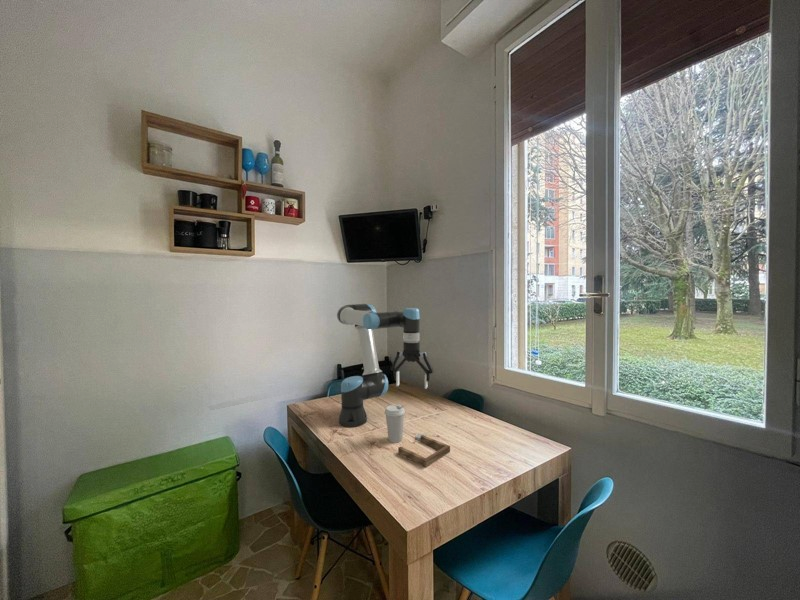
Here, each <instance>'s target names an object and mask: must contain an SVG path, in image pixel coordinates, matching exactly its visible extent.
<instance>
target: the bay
mask: <svg viewBox="0 0 800 600" xmlns="http://www.w3.org/2000/svg"><path fill="white" fill-rule="evenodd" d="M424 435H425V434H423V435H422V436H420V437H421V440H420V442H421V443H423V444H426V445H429V446H430V447H433V448H435V449H438V450H436V451H434V452H433V453H432V454H430V455H428V456H427V457H424V456H422V455H420V454H418V453H415V452H413V451H411V450H409V449H407V448H405V447H403V446H399V447H398V449H397V450H398V451H397V454H399V455H401V456H403V457H405V458H406V459H409V460H411V461H412V462H415V463H417V464H418V465H421V466H423V467H425V468H428V467H429V466H431V465H432V464H434V463H436V461H438V460H440V459H441V458H442V457H444V456H446V455H447V454H449V453H451V446H450V445H448V444H446V443H443V442H440V441H438V440H436V439H433V438H431V437H429V436H427V435H426V436H424Z"/></svg>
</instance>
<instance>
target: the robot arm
mask: <svg viewBox="0 0 800 600" xmlns="http://www.w3.org/2000/svg"><path fill="white" fill-rule="evenodd" d="M336 317H337V320H338V322H339V323H341V324H343V325H347V326H348V325H351V326H352V325H354V328H355V329H356V330H357V332H358V338H359V346H360V351H361V357H362V364H363V365H362V366H363V373H362V375H353V376H349V377H348V376H347V377H346V378H344V379H343V380H342V381H341V384H340V396H341V397H340V398H341V399H340V401H341V409H340V413H339V417H338V424H339V425H340V426H342V427H345V428H357V427H360V426H362V425H365V424H366V423H367V421H368V417H367V416H368V415H367V412H366V409H365V408H364V401H366V400H369V399H370V400H371V399H373V398H379V397H381V396H385V394H387V392H388V389H389V380H388V377H387V375H386V374H385V373H383V370H381V369H380V366H379V365H380V364H379V361H378V353H377V346H376V342H375V334H374V330H377V329H391V328H402V329H403V331H402V332H403V333H402V335H403V345H402V347H403V351H401V350H398V351H396V356H395V358H394V359H393V363H391V364H392V365H391V366H390V368H389V369H390V371H392V372H393V377H394V380H395V381H396V382H395V383H396V384H395V386H396V387H399V386H400V368H401V367H402V366H403V365H404V364H405V363H406V362H408V363H409V362H411V363H415V362H416V364H418V365H419V367H420V368H421V369H422V370H423V371H424V373H425V374H424V389H426V390H427V388H429V387H428V382H429V381H430V374H433V373H434V371H435V370H434V368H433V366H432V365H431V362H430V360H429V358H428V353H427V352H426V351H424V352H421V349H420V347H421V346H420V341H421V340H420V337H421V336H420V325H421V324H420V319H421V318H420V309H419V308H417V307H406V308H403V310H402V311H399V310H392V311H384V312H383V311H382V312H377V309H376V307H374V306H373V305H372V304H369V303H358V304H357V303H354V304H346V305H345V304H344V305H343V306H341V307H340V308H339V309H338V310H337V313H336ZM401 356H403V357H404V358H403V359H402V360H401V361H400V362H399V364H398V361H399V359H400V357H401ZM420 357H422V359H423V361H424V362H425V363H423V361H422V360H421V358H420ZM397 364H398V365H397Z"/></svg>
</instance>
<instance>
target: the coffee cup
mask: <svg viewBox="0 0 800 600" xmlns="http://www.w3.org/2000/svg"><path fill="white" fill-rule="evenodd" d="M405 413H406V411H405V409H404V407H403V406H402V405H401V404H391V405H388V406H387V407H386V408H385V410H384V415H385V418H386V428H387V436H388V437H387V438H388V442H389V443H393V444H396V443H397V444H398V443H401V442H402V441H403V435H404V433H403V432H404V418H405V416H404V415H405Z"/></svg>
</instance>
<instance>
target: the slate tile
mask: <svg viewBox="0 0 800 600" xmlns="http://www.w3.org/2000/svg"><path fill="white" fill-rule="evenodd" d="M422 435H424V436H426V437H427V435H426V434H423V433H418V434H416V436H415V437H414V439H415V440H418V441H421V437H420V436H422Z"/></svg>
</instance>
